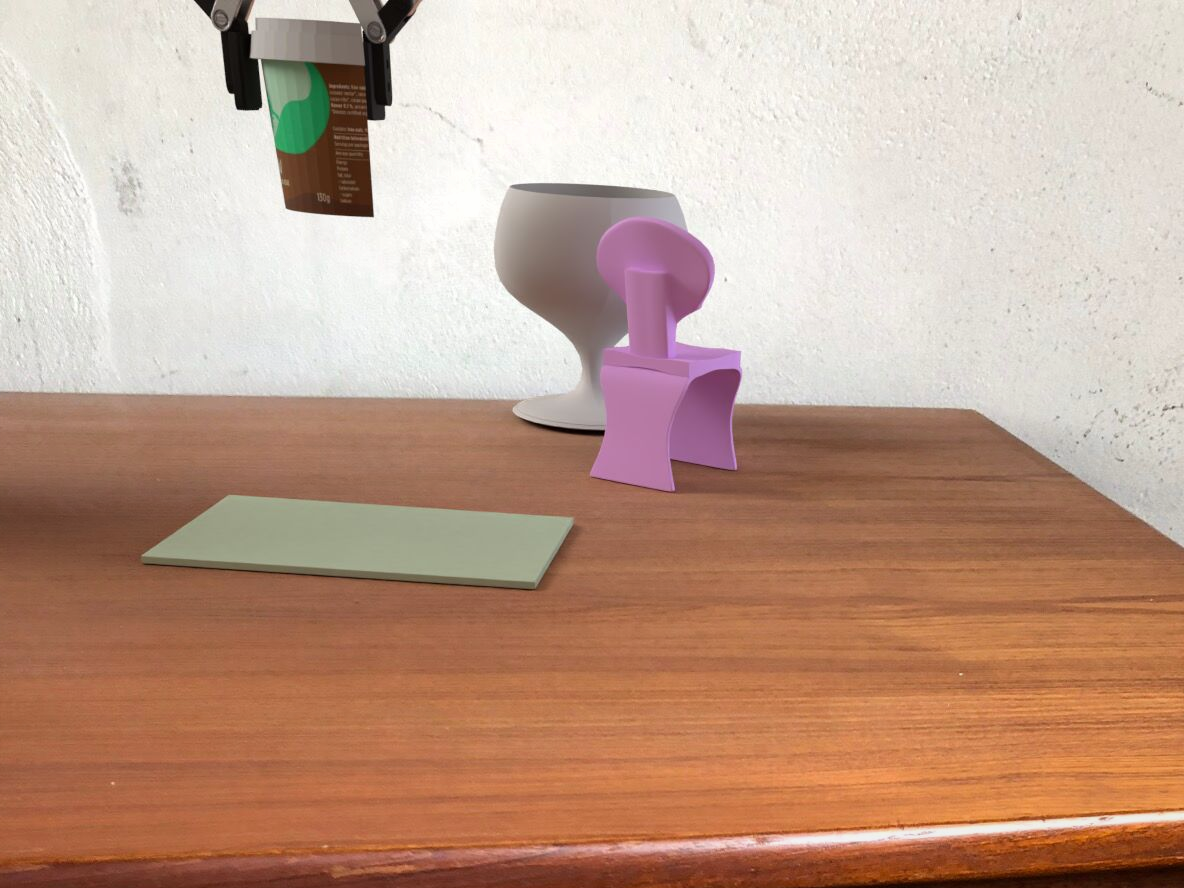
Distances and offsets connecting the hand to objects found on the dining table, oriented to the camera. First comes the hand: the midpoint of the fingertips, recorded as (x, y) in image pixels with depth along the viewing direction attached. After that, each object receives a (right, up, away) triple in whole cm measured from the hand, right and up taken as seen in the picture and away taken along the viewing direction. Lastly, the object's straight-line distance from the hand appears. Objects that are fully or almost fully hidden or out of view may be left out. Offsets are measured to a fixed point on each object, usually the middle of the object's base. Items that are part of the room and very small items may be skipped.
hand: (311, 112), depth 93 cm
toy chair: (+22, -20, +6) cm, 30 cm away
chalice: (+15, -11, +20) cm, 27 cm away
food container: (-1, -5, +3) cm, 5 cm away
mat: (+7, -30, -11) cm, 33 cm away
